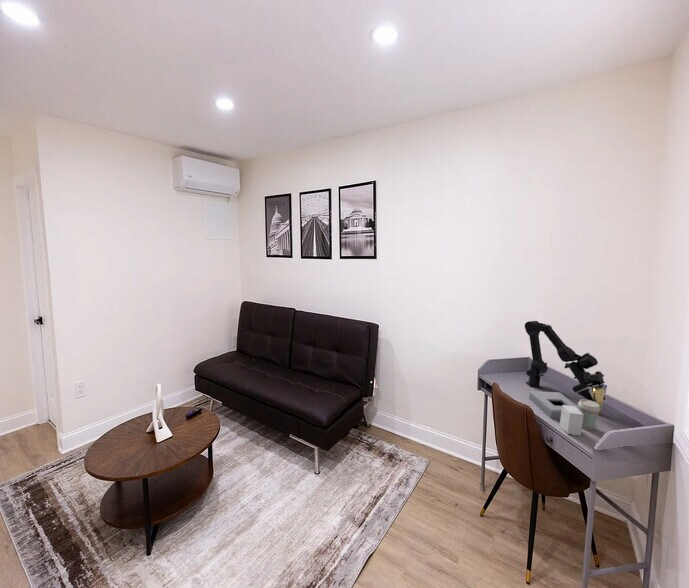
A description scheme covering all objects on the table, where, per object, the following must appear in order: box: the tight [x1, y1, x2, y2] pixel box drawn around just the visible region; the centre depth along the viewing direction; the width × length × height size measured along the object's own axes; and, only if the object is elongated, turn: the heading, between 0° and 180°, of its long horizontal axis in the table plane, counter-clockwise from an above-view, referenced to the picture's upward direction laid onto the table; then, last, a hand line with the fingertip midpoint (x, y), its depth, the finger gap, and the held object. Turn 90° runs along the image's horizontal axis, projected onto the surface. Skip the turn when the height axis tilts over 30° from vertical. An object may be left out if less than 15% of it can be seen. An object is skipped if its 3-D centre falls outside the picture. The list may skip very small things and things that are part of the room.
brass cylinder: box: [591, 387, 605, 416], centre depth 166 cm, size 5×5×13 cm
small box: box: [559, 404, 584, 436], centre depth 149 cm, size 8×6×10 cm
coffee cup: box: [577, 398, 600, 431], centre depth 153 cm, size 8×8×12 cm
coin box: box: [528, 390, 579, 420], centre depth 169 cm, size 20×16×4 cm
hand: (599, 401), depth 165 cm, fingers open, 9 cm apart
